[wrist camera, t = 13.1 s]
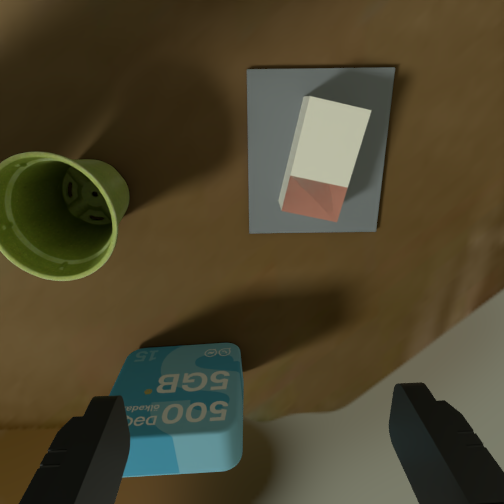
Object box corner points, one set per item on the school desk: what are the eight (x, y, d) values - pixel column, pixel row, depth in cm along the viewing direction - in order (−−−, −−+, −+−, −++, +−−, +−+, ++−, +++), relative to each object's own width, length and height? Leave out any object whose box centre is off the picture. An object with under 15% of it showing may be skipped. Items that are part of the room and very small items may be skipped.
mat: (249, 232, 36) (249, 233, 36) (246, 69, 31) (246, 69, 30) (374, 230, 36) (376, 231, 36) (393, 67, 31) (395, 67, 30)
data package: (240, 340, 41) (237, 431, 30) (243, 374, 42) (242, 471, 31) (130, 347, 41) (86, 440, 30) (138, 381, 43) (99, 480, 31)
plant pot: (48, 236, 36) (-9, 275, 28) (37, 133, 32) (-31, 144, 24) (147, 245, 36) (118, 286, 28) (147, 145, 33) (114, 159, 25)
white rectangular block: (303, 96, 31) (310, 96, 28) (358, 109, 32) (371, 110, 28) (278, 200, 34) (281, 211, 31) (328, 210, 35) (336, 222, 32)
